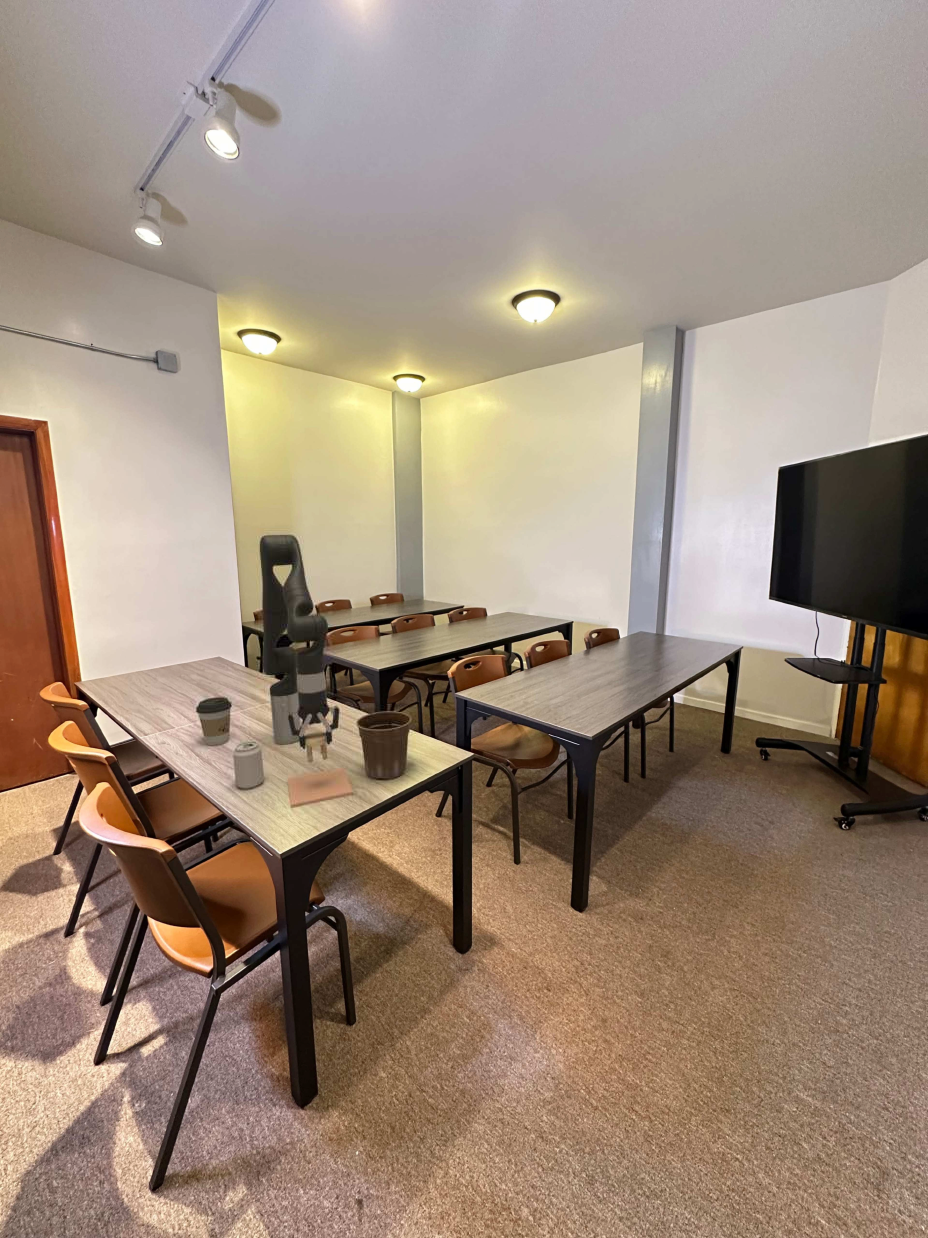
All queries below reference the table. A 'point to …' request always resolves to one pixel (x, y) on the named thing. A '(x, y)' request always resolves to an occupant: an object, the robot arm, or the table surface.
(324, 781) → the mat
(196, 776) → the table surface
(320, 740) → the stool
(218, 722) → the coffee cup
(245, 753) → the can
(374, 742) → the plant pot
